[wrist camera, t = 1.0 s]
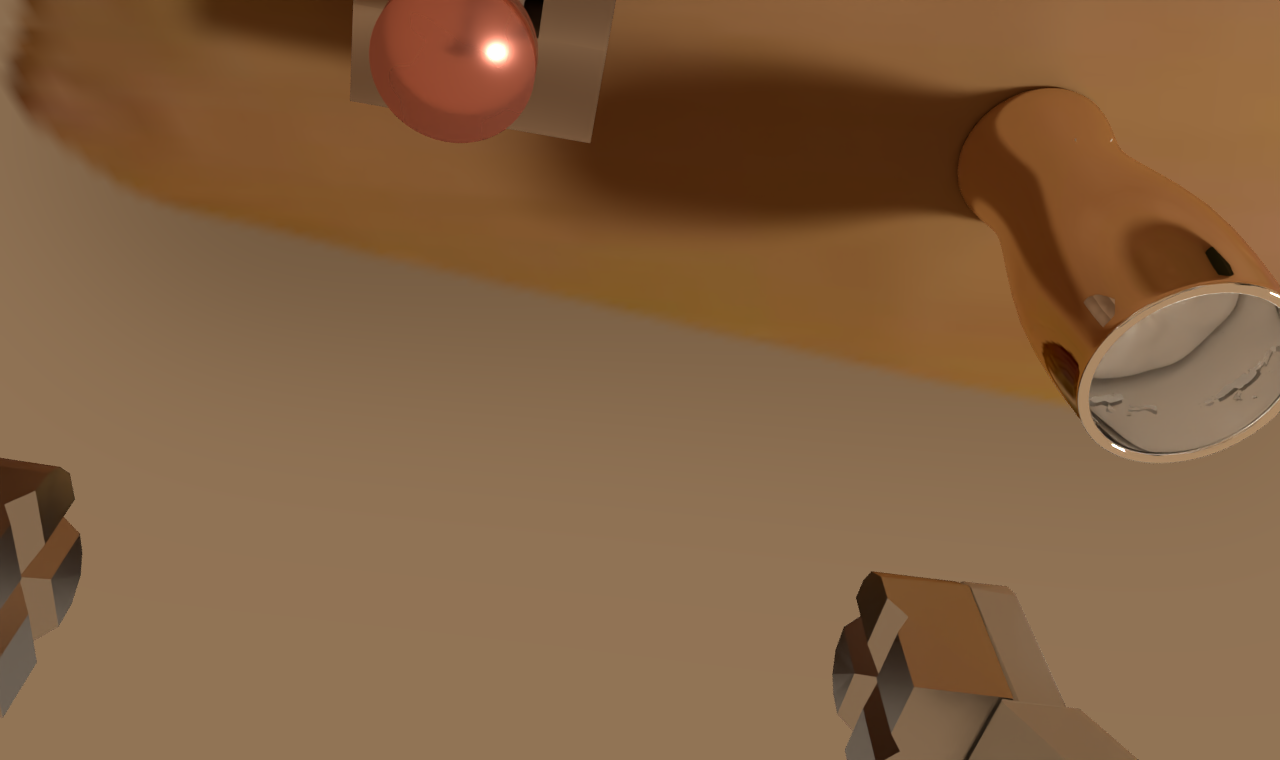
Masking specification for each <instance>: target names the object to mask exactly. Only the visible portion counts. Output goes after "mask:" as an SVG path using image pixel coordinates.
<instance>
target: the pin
mask: <svg viewBox="0 0 1280 760" xmlns="http://www.w3.org/2000/svg"><path fill="white" fill-rule="evenodd" d="M524 2H525V0H389V1H388V2H387V4H386V6H385V7H384V9H383V11H382V12H381V14H380V16H379V17H378V19H377V21H376V23H375V26H374V28H373V31H372V35H371V39H370V46H369V62H370V69H371V73H372V77H373V80H374V83H375V85H376V88H377V90H378V92H379V94H380V96H381V97H382V99H383V101H384V102H385V103H386V105H387V106H388V107H389V109H390V110H391V111H392V112H393V113H394V114H395V115H396V116H397V117H398V118H399V119H400V120H401V121H402V122H404V123H405V124H406V125H407V126H409V127H410V128H412V129H414V130H415V131H417V132H419V133H421V134H423V135H425V136H428V137H430V138H433V139H436V140H440V141H445V142H452V143H469V142H476V141H480V140H484V139H487V138H490V137H492V136H494V135H496V134H498V133H500V132H502V131H503V130H505V129H506V128H507V127H509V126H510V125H511V124H512V123H513V122H514V121H515V120H516V119H517V118H518V117H519V116H520V114H521V113H522V112H523V110H524V109H525V107H526V105H527V103H528V101H529V99H530V96H531V93H532V90H533V85H534V80H535V75H536V70H537V64H538V42H537V37H536V32H535V29H534V26H533V23H532V21H531V19H530V17H529V15H528V13H527V11H526V9H525V8H524Z"/></svg>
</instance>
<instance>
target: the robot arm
mask: <svg viewBox="0 0 1280 760" xmlns="http://www.w3.org/2000/svg"><path fill="white" fill-rule="evenodd" d="M74 500H75V497H74V491H73V487H72V481H71V476H70V473H69V472H67V471H66V470H64V469H63V468H61V467H57V466H51V465H44V464H37V463H31V462H24V461H17V460H11V459H4V458H0V718H3V717H4V715H5V714H6V712H7V710H8V709H9V707H10V705H11V704H12V702H13V700H14V699H15V697H16V696H17V694H18V692H19V690H20V689H21V687H22V686H23V684H24V683H25V681H26V679H27V677H28V676H29V674H30V673H31V671H32V670H33V668H34V666H35V664H36V663H37V660H36V654H35V649H34V643H33V641H34V640H36V639H38V638H40V637H41V636H43V635H45V634H46V633H48V632H50V631H52V630H54V629H55V628H57V627H58V626H59V625H60V623H61V621H62V620H63V618H64V616H65V614H66V613H67V611H68V609H69V608H70V606H71V604H72V601H73V598H74V595H75V592H76V588H77V585H78V582H79V579H80V576H81V564H82V546H81V538H80V533H79V532H78V531H76V529H75V528H74V527H73V526H72V525H71V524H70V523H69V522H68V521H67V520H66V519H65V518H64V515H65V514H66V512H67V511H68V509H69V508H70V506H71V504H72V503H73V502H74ZM856 600H857V603H858V608H859V612H860V617H858V618H857V619H855V620H854V621H852V622H851V623H849V624H848V625H846V626H845V627H844V628H843V631H842V633H841V636H840V639H839V642H838V645H837V647H836V650H835V658H834V666H833V674H832V675H833V695H834V700H835V705H836V710H837V714H838V715H839V716H840V718H841V719H842V720H843V721H844V722H845V723H846V724H847V725H848V726H849V727H850V729H851V730H852V731H853V732H852V735H851V737H850V740H849V742H848V744H847V746H846V748H845V753H846V758H847V760H1138V759H1137V758H1136V757H1135V756H1134V755H1132V754H1131V753H1130V752H1129V751H1128V750H1126V749H1125V748H1124V747H1123V746H1122V745H1121V744H1120V743H1119V742H1117V741H1116V740H1115V739H1114V738H1113V737H1112V736H1110V735H1109V734H1108V733H1107V732H1106V731H1105V730H1104V729H1102V728H1101V727H1100V726H1099V725H1098V724H1097V723H1095V722H1094V721H1093V720H1092V719H1091V718H1090V717H1088V716H1087V715H1086V714H1085V713H1084V712H1083V711H1082V710H1081V709H1078V708H1069V707H1066V706H1065V703H1064V701H1063V699H1062V697H1061V694H1060V692H1059V690H1058V688H1057V686H1056V683H1055V681H1054V679H1053V677H1052V675H1051V672H1050V670H1049V668H1048V665H1047V663H1046V661H1045V659H1044V657H1043V654H1042V652H1041V650H1040V648H1039V646H1038V643H1037V641H1036V639H1035V636H1034V634H1033V632H1032V630H1031V627H1030V625H1029V623H1028V621H1027V619H1026V617H1025V614H1024V612H1023V610H1022V607H1021V605H1020V603H1019V601H1018V599H1017V596H1016V594H1015V593H1014V592H1013V591H1012V590H1011V589H1009V588H1008V587H1007V586H999V585H989V584H981V583H972V582H961V583H959V582H956V581H948V580H939V579H931V578H923V577H914V576H907V575H898V574H890V573H882V572H874V571H871V573H869V574H868V576H867V577H866V578H865V579H864V580H863V582H862V584H861V587H860V589H859V591H858V594H857V596H856Z"/></svg>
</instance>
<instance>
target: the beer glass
mask: <svg viewBox="0 0 1280 760" xmlns="http://www.w3.org/2000/svg"><path fill="white" fill-rule="evenodd" d="M958 183H959V188H960V192H961V194H962V197H963V199H964V201H965V202H966V204H967V205H968V207H969V208H970V209H971V211H972V212H973V213H974V214H975V215H976V216H977V217H978V218H979V219H981V220H982V221H983V222H984V223H985V224H986V225H988V226H989V227H990V228H991V229H992V230H993V231H994V232H995V233H996V235H997V236H998V239H999V241H1000V245H1001V249H1002V253H1003V258H1004V262H1005V267H1006V272H1007V277H1008V281H1009V285H1010V290H1011V294H1012V298H1013V301H1014V304H1015V307H1016V310H1017V314H1018V317H1019V320H1020V323H1021V325H1022V328H1023V330H1024V332H1025V334H1026V336H1027V338H1028V340H1029V342H1030V344H1031V346H1032V348H1033V350H1034V352H1035V354H1036V356H1037V358H1038V359H1039V361H1040V363H1041V364H1042V366H1043V367H1044V369H1045V371H1046V372H1047V374H1048V376H1049V377H1050V379H1051V380H1052V382H1053V383H1054V385H1055V386H1056V387H1057V389H1058V390H1059V392H1060V393H1061V395H1062V396H1063V397H1064V399H1065V400H1066V402H1067V403H1068V404H1069V406H1070V407H1071V408H1072V410H1073V411H1074V412H1075V414H1076V415H1077V416H1078V418H1079V419H1080V421H1081V422H1082V424H1083V427H1084V428H1085V430H1086V432H1087V433H1088V434H1089V436H1090V437H1091V438H1092V439H1093V440H1094V441H1095V442H1096V443H1097V444H1098V445H1099V446H1101V447H1102V448H1104V449H1105V450H1107V451H1108V452H1110V453H1112V454H1115V455H1116V456H1119V457H1122V458H1125V459H1129V460H1133V461H1138V462H1144V463H1175V462H1182V461H1188V460H1193V459H1197V458H1201V457H1204V456H1208V455H1211V454H1214V453H1216V452H1219V451H1221V450H1224V449H1226V448H1228V447H1231V446H1233V445H1235V444H1236V443H1238V442H1240V441H1242V440H1244V439H1246V438H1247V437H1249V436H1251V435H1252V434H1253V433H1255V432H1256V431H1258V430H1259V429H1261V428H1262V427H1263V426H1265V425H1266V424H1267V423H1268V422H1270V421H1271V420H1272V419H1273V418H1274V417H1275V416H1276V415H1277V414H1278V413H1279V412H1280V285H1279V284H1278V282H1277V281H1276V279H1275V278H1274V276H1273V275H1272V274H1271V273H1270V271H1269V270H1268V269H1267V267H1266V266H1265V265H1264V263H1263V262H1262V261H1261V259H1260V258H1259V257H1258V256H1257V254H1256V253H1255V252H1254V251H1253V250H1252V248H1251V247H1250V246H1249V245H1248V244H1247V243H1246V242H1245V240H1244V239H1243V238H1242V237H1241V236H1240V235H1239V234H1238V232H1237V231H1236V230H1235V229H1234V228H1233V227H1232V226H1231V225H1230V224H1228V223H1227V222H1226V221H1225V220H1224V219H1223V218H1222V217H1221V216H1220V215H1219V214H1218V213H1217V212H1216V211H1214V210H1213V209H1212V208H1211V207H1210V206H1209V205H1208V204H1206V203H1205V202H1204V201H1202V200H1201V199H1199V198H1198V197H1196V196H1195V195H1193V194H1192V193H1191V192H1189V191H1188V190H1186V189H1185V188H1183V187H1182V186H1180V185H1179V184H1177V183H1175V182H1173V181H1172V180H1170V179H1168V178H1167V177H1165V176H1163V175H1161V174H1160V173H1158V172H1156V171H1154V170H1153V169H1151V168H1149V167H1147V166H1145V165H1143V164H1142V163H1140V162H1138V161H1136V160H1135V159H1133V158H1131V157H1130V156H1128V155H1127V154H1126V153H1124V152H1123V151H1122V150H1121V148H1120V147H1119V145H1118V143H1117V141H1116V138H1115V136H1114V133H1113V131H1112V128H1111V126H1110V124H1109V122H1108V120H1107V118H1106V116H1105V115H1104V113H1103V112H1102V111H1101V110H1100V108H1099V107H1098V106H1097V105H1096V104H1095V103H1094V102H1093V101H1091V100H1090V99H1088V98H1087V97H1085V96H1083V95H1081V94H1079V93H1076V92H1074V91H1070V90H1067V89H1061V88H1040V89H1034V90H1030V91H1026V92H1023V93H1020V94H1018V95H1015V96H1013V97H1011V98H1009V99H1007V100H1005V101H1003V102H1002V103H1000V104H998V105H997V106H996V107H994V108H993V109H992V110H990V111H989V112H988V113H987V114H986V115H985V116H984V117H983V118H982V119H981V120H980V121H979V122H978V123H977V124H976V125H975V127H974V128H973V129H972V131H971V132H970V134H969V136H968V137H967V139H966V141H965V143H964V145H963V148H962V150H961V153H960V157H959V162H958Z"/></svg>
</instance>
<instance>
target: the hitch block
mask: <svg viewBox="0 0 1280 760" xmlns="http://www.w3.org/2000/svg"><path fill="white" fill-rule="evenodd" d="M388 1H389V0H353V23H352V56H351V88H350V101H354V102H359V103H365V104H371V105H376V106H382V107H388V106H387V105H386V103H385V102H384V101H383V99H382V97H381V96H380V94H379V92H378V90H377V88H376V85H375V83H374V80H373V77H372V73H371V69H370V62H369V46H370V39H371V35H372V31H373V28H374V26H375V23H376V21H377V19H378V17H379V16H380V14H381V12H382V11H383V9H384V7H385V6H386V4H387V2H388ZM615 2H616V0H525V2H524V8H525V9H526V11H527V13H528V15H529V17H530V19H531V21H532V23H533V26H534V29H535V32H536V37H537V42H538V64H537V70H536V75H535V80H534V85H533V90H532V93H531V96H530V99H529V101H528V103H527V105H526V107H525V109H524V110H523V112H522V113H521V114H520V116H519V117H518V118H517V119H516V120H515V121H514V122H513V123H512V124H511V125H510V126H509V127H507V128H506V129H512V130H518V131H523V132H529V133H535V134H540V135H546V136H552V137H557V138H563V139H569V140H574V141H580V142H586V143H590V142H591V137H592V131H593V126H594V120H595V114H596V109H597V103H598V97H599V92H600V86H601V81H602V75H603V69H604V64H605V58H606V53H607V47H608V41H609V36H610V30H611V24H612V19H613V13H614V8H615ZM388 108H389V107H388Z"/></svg>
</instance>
